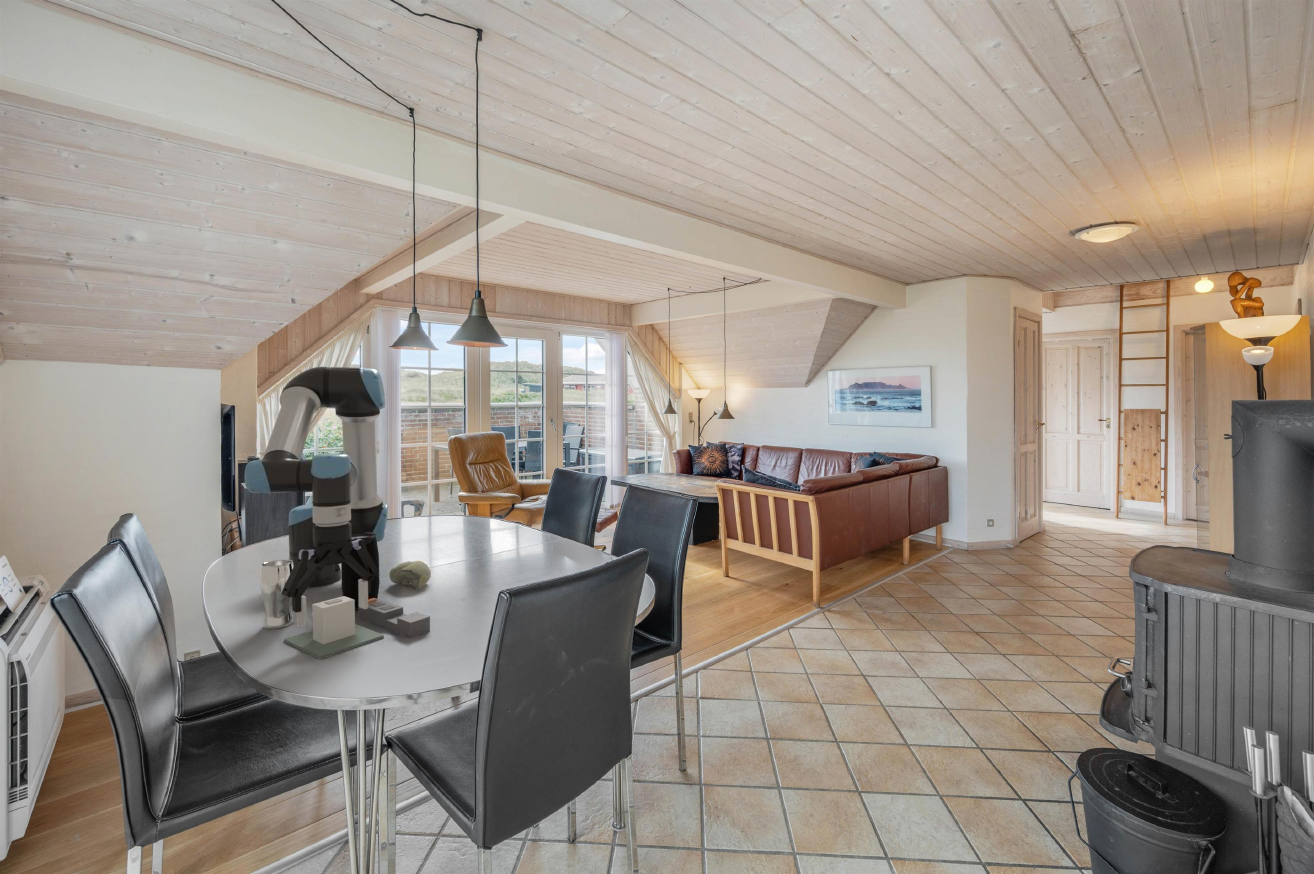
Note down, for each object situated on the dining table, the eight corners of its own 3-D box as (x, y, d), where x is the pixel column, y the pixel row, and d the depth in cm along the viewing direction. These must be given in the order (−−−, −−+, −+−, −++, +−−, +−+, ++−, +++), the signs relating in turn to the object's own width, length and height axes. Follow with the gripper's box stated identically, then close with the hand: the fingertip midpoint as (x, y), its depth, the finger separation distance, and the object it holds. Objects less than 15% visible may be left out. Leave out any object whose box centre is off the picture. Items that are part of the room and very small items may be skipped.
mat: (283, 641, 130) (283, 638, 130) (346, 622, 141) (346, 620, 141) (319, 659, 121) (319, 656, 121) (383, 637, 132) (383, 635, 132)
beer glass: (269, 632, 135) (268, 568, 134) (255, 625, 138) (253, 563, 138) (301, 622, 141) (300, 561, 140) (286, 617, 144) (285, 557, 144)
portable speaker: (372, 612, 149) (371, 538, 148) (335, 612, 148) (334, 538, 147) (385, 601, 157) (384, 531, 156) (350, 601, 156) (348, 531, 155)
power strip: (358, 617, 145) (358, 601, 144) (377, 611, 149) (377, 596, 149) (410, 637, 132) (410, 620, 132) (430, 630, 136) (429, 613, 136)
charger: (313, 639, 129) (312, 603, 129) (344, 629, 135) (344, 595, 135) (323, 644, 127) (322, 607, 126) (355, 634, 133) (354, 598, 132)
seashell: (382, 562, 169) (412, 550, 178) (384, 587, 171) (414, 574, 179) (410, 573, 163) (440, 560, 171) (412, 599, 164) (441, 585, 173)
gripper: (278, 535, 117) (281, 638, 118) (394, 516, 138) (395, 604, 139) (262, 530, 121) (264, 629, 123) (376, 512, 142) (377, 598, 143)
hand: (333, 616), depth 131 cm, fingers open, 13 cm apart
